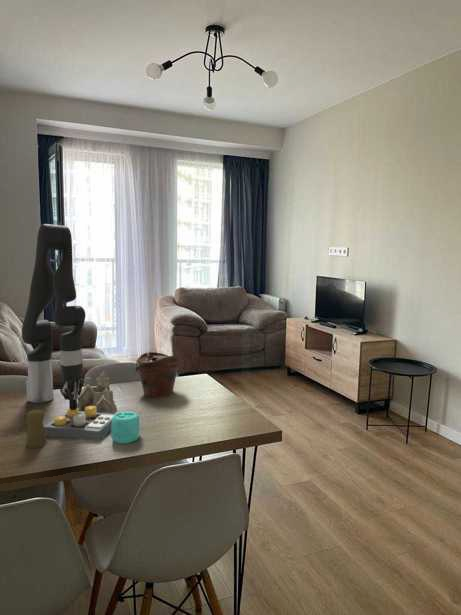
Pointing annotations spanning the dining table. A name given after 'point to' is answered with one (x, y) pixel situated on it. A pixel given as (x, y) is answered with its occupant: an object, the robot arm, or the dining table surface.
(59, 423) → the amber button
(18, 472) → the dining table surface
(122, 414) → the decorative dice
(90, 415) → the amber button
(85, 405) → the ceramic cottage
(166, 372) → the brown tapered round container
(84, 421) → the white button
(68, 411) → the amber button
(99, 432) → the button board
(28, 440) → the olive rounded cylinder
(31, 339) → the robot arm
